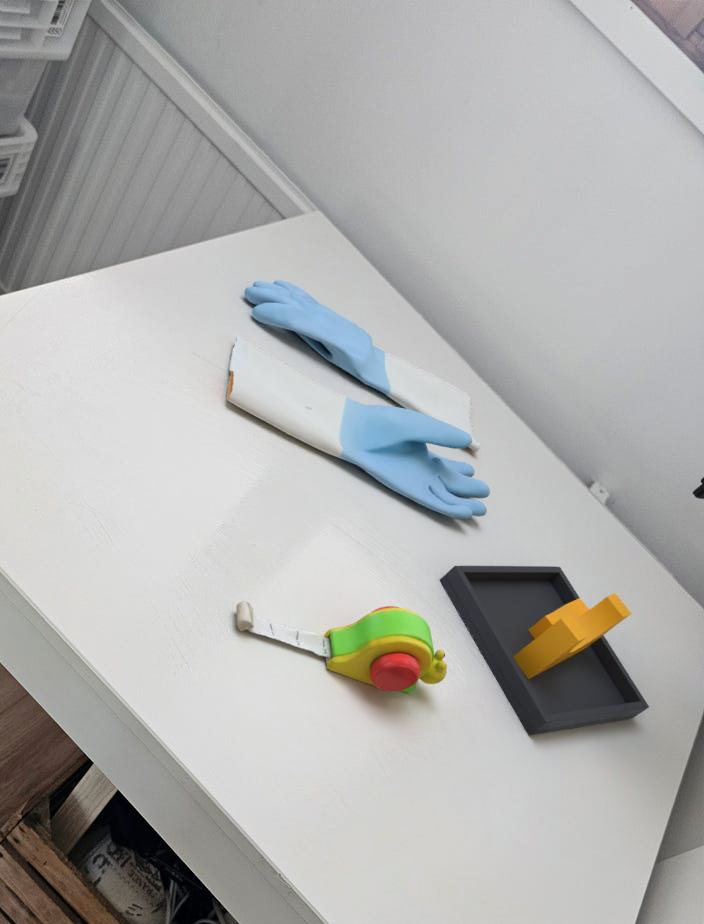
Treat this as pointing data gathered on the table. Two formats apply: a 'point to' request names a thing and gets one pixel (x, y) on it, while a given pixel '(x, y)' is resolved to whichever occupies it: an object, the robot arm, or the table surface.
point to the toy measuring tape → (366, 647)
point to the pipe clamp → (568, 633)
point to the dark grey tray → (507, 632)
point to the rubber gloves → (359, 404)
